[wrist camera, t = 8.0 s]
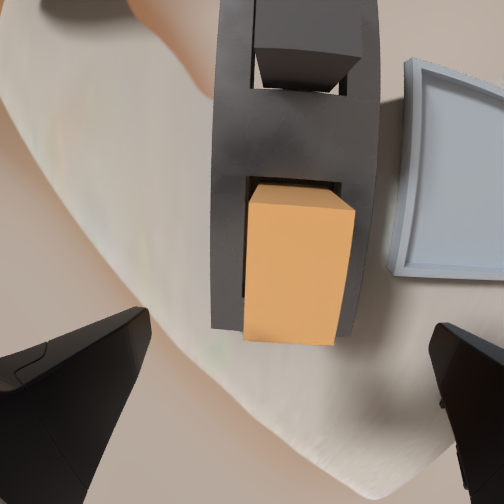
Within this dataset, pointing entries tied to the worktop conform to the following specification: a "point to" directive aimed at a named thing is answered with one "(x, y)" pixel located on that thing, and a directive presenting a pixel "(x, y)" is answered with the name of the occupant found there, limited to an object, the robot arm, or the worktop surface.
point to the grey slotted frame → (287, 152)
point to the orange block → (295, 263)
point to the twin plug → (307, 42)
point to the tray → (450, 177)
